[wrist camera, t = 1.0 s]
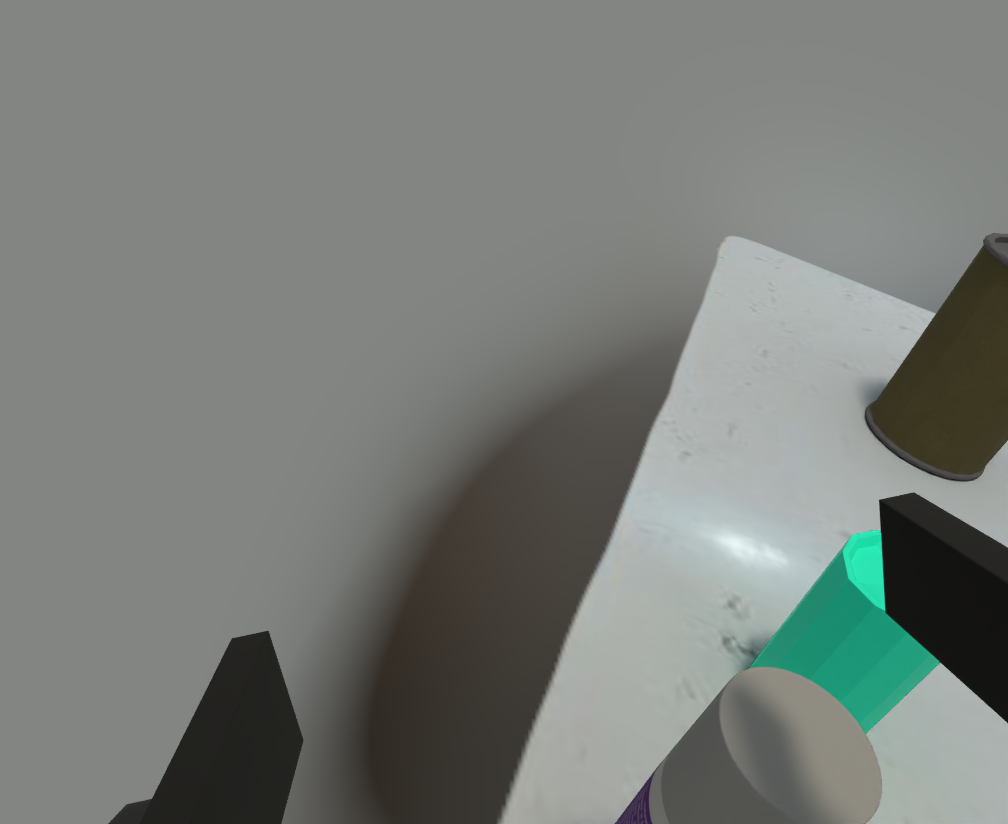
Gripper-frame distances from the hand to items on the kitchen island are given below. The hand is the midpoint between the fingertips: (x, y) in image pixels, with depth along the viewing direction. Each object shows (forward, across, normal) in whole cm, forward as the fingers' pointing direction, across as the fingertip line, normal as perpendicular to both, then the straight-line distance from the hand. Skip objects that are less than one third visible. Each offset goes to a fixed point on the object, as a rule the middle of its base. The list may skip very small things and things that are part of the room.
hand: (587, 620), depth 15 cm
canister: (+45, +36, -18) cm, 61 cm away
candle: (+18, +12, -20) cm, 29 cm away
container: (+8, -1, -19) cm, 21 cm away
